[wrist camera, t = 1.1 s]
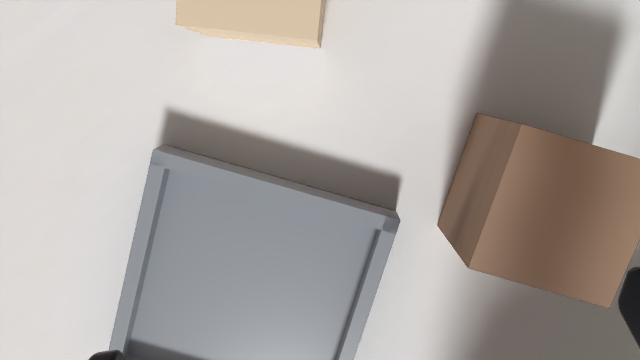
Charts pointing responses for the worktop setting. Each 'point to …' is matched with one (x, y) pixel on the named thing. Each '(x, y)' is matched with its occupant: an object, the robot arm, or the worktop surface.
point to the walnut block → (544, 210)
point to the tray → (247, 266)
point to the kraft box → (255, 20)
